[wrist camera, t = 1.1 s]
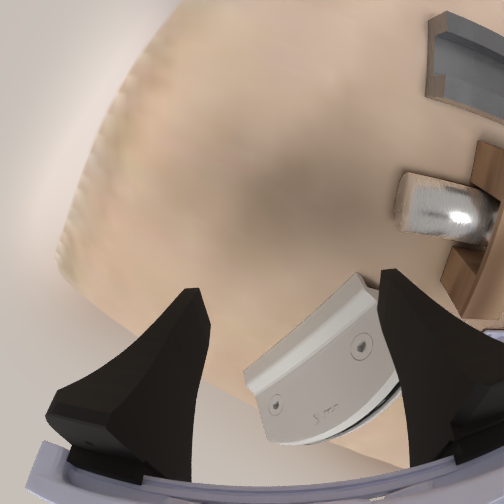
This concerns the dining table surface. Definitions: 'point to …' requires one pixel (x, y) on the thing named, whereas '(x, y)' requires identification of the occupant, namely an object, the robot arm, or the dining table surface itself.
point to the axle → (445, 210)
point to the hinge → (326, 371)
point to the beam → (477, 262)
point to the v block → (465, 66)
